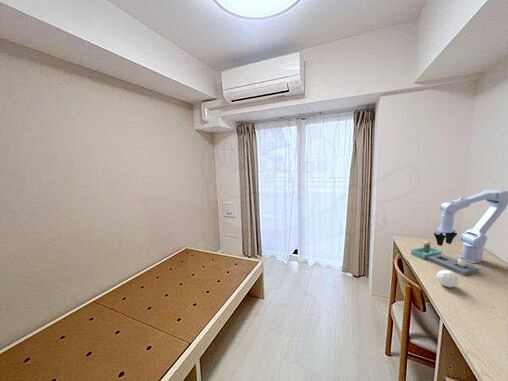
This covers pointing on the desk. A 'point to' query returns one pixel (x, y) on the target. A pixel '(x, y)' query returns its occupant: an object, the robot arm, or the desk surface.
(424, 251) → the led light bulb
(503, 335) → the desk surface
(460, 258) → the fuse
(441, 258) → the fuse block
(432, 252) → the tray
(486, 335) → the desk surface
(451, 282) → the geometric ball
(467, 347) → the desk surface
